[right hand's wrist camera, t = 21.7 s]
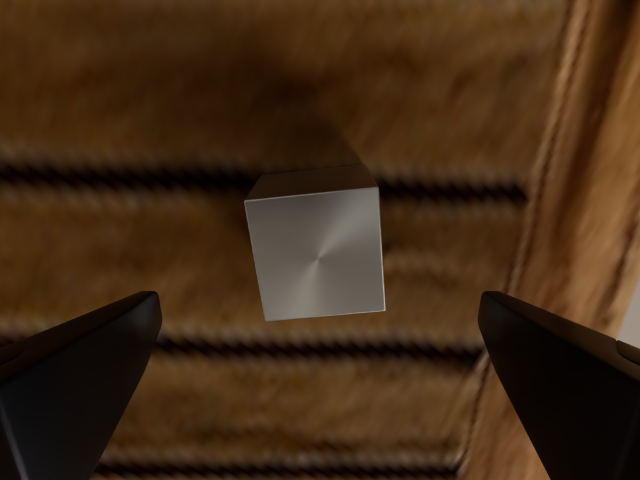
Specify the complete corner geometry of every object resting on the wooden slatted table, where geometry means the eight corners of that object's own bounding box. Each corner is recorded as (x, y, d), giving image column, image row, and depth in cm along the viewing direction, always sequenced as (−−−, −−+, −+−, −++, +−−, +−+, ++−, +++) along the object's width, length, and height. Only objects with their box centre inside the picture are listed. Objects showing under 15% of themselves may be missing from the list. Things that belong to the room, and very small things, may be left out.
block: (371, 263, 20) (386, 311, 15) (276, 272, 20) (264, 322, 16) (364, 163, 18) (378, 186, 14) (260, 174, 18) (243, 200, 14)
